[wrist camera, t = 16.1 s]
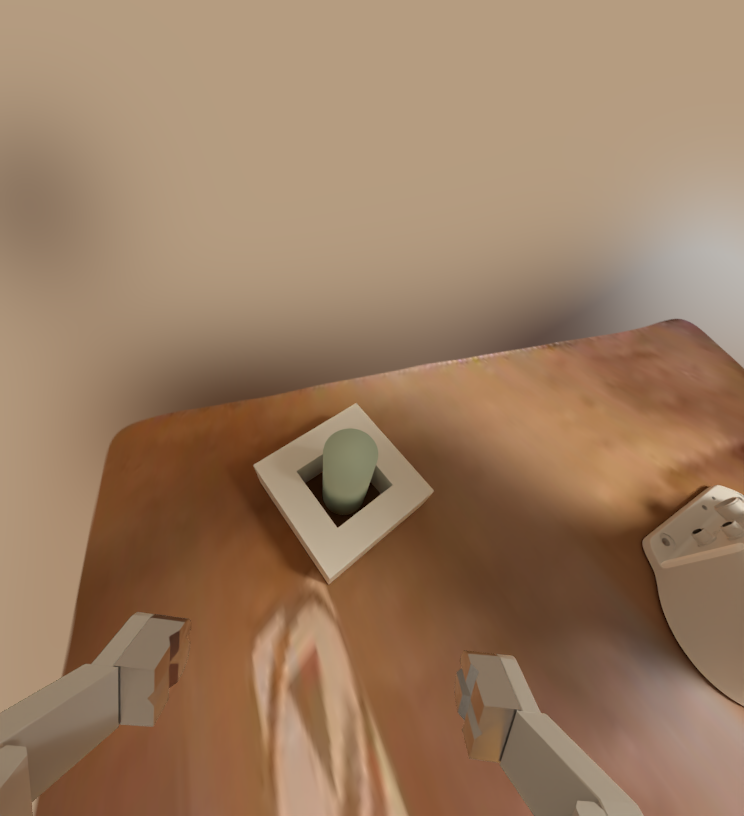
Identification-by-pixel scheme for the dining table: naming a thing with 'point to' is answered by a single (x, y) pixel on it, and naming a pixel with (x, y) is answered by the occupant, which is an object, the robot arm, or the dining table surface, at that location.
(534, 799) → the robot arm
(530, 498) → the dining table surface
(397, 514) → the well block
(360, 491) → the green dowel
